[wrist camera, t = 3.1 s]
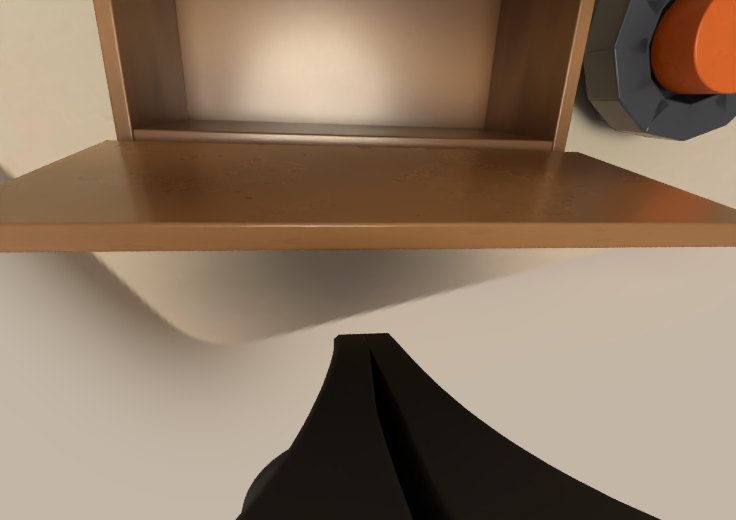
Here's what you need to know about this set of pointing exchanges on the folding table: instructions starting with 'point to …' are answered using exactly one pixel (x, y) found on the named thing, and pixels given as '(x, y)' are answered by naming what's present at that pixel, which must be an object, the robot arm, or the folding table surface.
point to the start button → (696, 47)
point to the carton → (345, 71)
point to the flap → (344, 201)
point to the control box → (642, 77)
